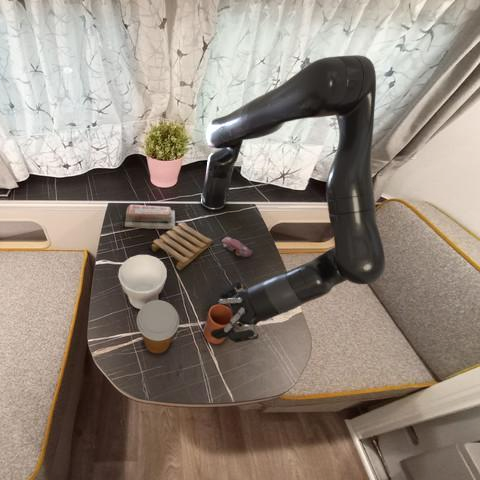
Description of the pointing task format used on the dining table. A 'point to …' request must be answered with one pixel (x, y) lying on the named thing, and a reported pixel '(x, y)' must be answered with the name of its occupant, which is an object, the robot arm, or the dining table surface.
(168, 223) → the packaged product
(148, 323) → the disposable coffee cup
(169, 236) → the wooden slatted trivet
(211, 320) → the tumbler
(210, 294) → the dining table surface
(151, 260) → the cup
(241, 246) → the pink oblong lump
